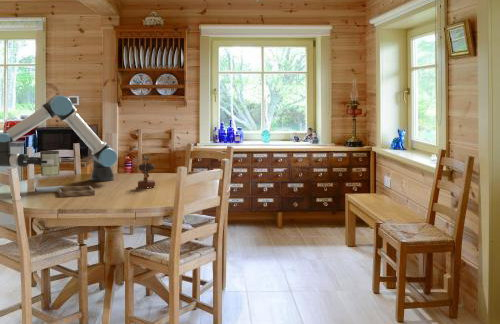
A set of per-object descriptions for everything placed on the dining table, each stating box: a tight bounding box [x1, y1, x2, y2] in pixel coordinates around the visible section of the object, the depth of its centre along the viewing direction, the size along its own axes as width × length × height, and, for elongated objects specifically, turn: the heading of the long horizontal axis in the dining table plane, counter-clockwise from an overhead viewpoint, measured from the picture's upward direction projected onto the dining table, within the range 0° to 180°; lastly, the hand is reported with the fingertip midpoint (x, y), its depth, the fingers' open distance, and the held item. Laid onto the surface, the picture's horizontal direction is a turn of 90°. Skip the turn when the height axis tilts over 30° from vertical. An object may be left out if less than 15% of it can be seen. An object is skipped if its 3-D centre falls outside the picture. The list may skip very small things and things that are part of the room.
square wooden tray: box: [57, 185, 96, 198], centre depth 289 cm, size 18×18×2 cm
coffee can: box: [39, 150, 60, 178], centre depth 298 cm, size 10×10×14 cm
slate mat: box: [35, 185, 66, 194], centre depth 300 cm, size 16×16×1 cm
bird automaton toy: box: [137, 154, 156, 189], centre depth 312 cm, size 15×11×20 cm
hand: (57, 161), depth 298 cm, fingers closed on coffee can, 10 cm apart
